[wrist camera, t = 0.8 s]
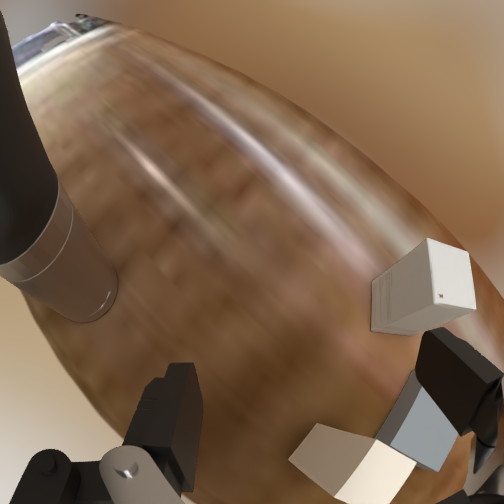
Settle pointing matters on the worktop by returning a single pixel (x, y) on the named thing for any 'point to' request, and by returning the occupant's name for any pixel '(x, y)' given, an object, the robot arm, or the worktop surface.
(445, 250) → the supplement box
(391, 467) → the cream block
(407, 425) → the plinth
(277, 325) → the worktop surface
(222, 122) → the worktop surface
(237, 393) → the worktop surface
